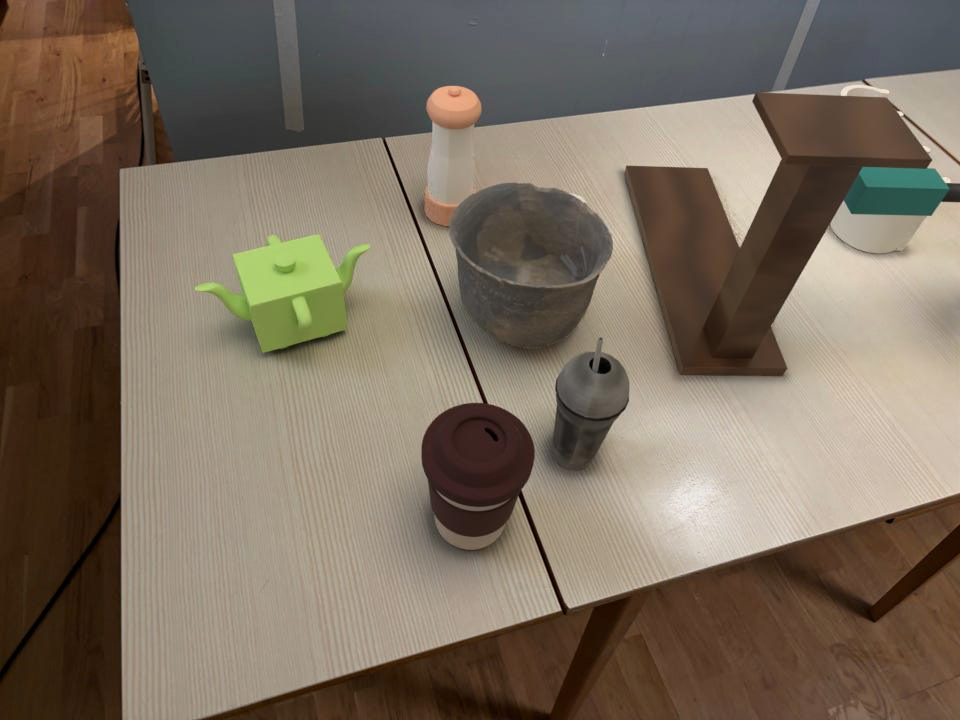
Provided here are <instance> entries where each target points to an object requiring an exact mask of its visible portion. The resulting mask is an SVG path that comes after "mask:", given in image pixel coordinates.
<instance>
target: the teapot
mask: <svg viewBox="0 0 960 720" xmlns="http://www.w3.org/2000/svg"><path fill="white" fill-rule="evenodd" d="M371 247H372V246H371V244H369V243H363V244H359V245H356V246H354V247H352V248H351V249H350V250H349V251H348V252H347V253H346V255H345V257H344V259H343V261H342V263H341V264H340V266H339V267H337V268H336V267H335V264H334V262H333V260H332V257H331V256H330V253H329V252H328V249H327V247H326V245H325V243H324V241H323V238H322V236H321V234H320V233H317V234H313V235H308V236H304V237H299V238H295V239H291V240H286V241H282V240H281V238H280V236H278V235H277V234H271V235H268V236H267V238H266V246H261V247H257V248H253V249H249V250H245V251H241V252H237V253H233V254H232V260H233V263H234V268H235V271H236V275H237V278H238V281H239V285H240V289H241V292H242V294H235V293H232V292H231V291H230V290H229V289H228V288H227V287H226V286H224V285H223V284H222V283H217V282H205V283H200V284H198V285H196V286H195V287H194V290H195V291H197V292H201V293H207V294H211V295H214V296H215V297H217V298H218V299H219V300H220V301H221V302H222V304H223V305H224V306H225V307H226V309H227V310H228V311H229V312H230V313H231V314H232V315H233V316H235V317H236V318H239V319H241V320H245V321H251V323H252V327H253V329H254V333H255V335H256V338H257V341H258V344H259V347H260V351H261V353H262V354H265V353H269V352H272V351H275V350H283V349H286V348H289V346H293V345H296V344H300V343H304V342H307V341H311V340H314V339H319V338H325V337H328V336H330V335H332V334H336V333H339V332H343V331H346V330H349V326H348V319H347V309H346V302H345V294H346V292H347V291H348V290H349V288H350V287H351V284H352V282H353V278H354V272H355V268H356V265H357V262H358V260H359V258H360V257H361V256H362V255H363V254H364V253H366V252H367V251H369V250H370V249H371Z"/></svg>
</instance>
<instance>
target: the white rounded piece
mask: <svg viewBox="0 0 960 720" xmlns="http://www.w3.org/2000/svg"><path fill="white" fill-rule="evenodd" d="M889 95H890V90H887V89H886V88H881V89H880V88H878V87H875V86H870V85H866V84H851V85H847V86H845V87H843V88H842V89H841V90H840V92H839V94H838V96H862V97H886V98H887V99H888V97H889ZM896 111H897V112H898V114H899V115H900V116H901V118H902V119H903V117H904V116H905V115H904V112H902V111H899V110H896ZM921 145H922V146H923V148H924V149H925V150H926V152H927V153H928V154H929V155H930V154H931V152H932V149H931V148H930V147H928V146H926V145H923V144H921ZM941 177H942V179H943V180H944V182H945V183H952V180H951V179H950V178H949V177H948V176H941ZM927 217H928V216H913V215H869V214H851V213H850V211H849V209H848V207H847V206H846V204H845V202H844V200H843V202H842V204H841V206H840V207H839V209H838V211H837V213H836V214H835V216H834V218H833V219H832V221H831V223H830V225H829V226H830V229H831V230H832V231H833V233H834V234H835V236H836V237H837V238H839V239H840V240H841V241H842V242H844V244H846V245H848V246H850V247H852V248H854V249H857V250H859V251H862V252H865V253H870V254H888V253H892V252H893V251H897V252H902V251H904V249H905V248H906V246H908V243H909V242H910V241H911V239H912V238H913V237H914V235H915V234H916V233H917V231H918V229H920V227H921V225H922V224H923V223H924V221H925V220H926V218H927Z"/></svg>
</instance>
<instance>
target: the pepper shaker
mask: <svg viewBox="0 0 960 720" xmlns="http://www.w3.org/2000/svg"><path fill="white" fill-rule="evenodd" d="M425 106H426V112H427V115H428V117H429V119H430V120H431V122H432V123H431V124H432V127H431V147H430V151H429V157H428V163H427V169H426V172H427V173H426V175H427V176H426V177H427V178H426V180H427V184H426V185H425V188H424V213H425V216H426V217H427V218H428V219H429V220H430V221H431V222H433V223H434V224H436V225H439V226H443V227H449V224H450V220H451V217H452V215H453V212H454V211H455V209H456V208H457V207H458V205H459V204H460V203H462V202H463V201H464V200H465V199H466V198H467V197H469V196H470V195H472V194H476V193H477V190H476V188H475V180H476V163H475V152H474V137H475V124H477V122H478V120H479V119H480V117H481V114H482V112H483V111H482V109H483V107H482V102H481V101H480V98H479V96H477V94H476V93H475V92H474V91H472V90H471V89H469V88H467V87H465V86H460V85H446V86H441V87H438V88H437V89H435V90H434V91H433V92H432V93H431V94H430V96H429V97H428V99H427V101H426V105H425Z"/></svg>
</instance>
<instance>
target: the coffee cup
mask: <svg viewBox="0 0 960 720" xmlns="http://www.w3.org/2000/svg"><path fill="white" fill-rule="evenodd" d="M420 450H421V453H420V454H421V455H420V456H421V466H422V469H423V472H424V475H425V478H426V479H427V483H428V492H429V493H428V494H429V501H430V505H431V506H430V507H431V509H432V513H433V517H434V523H435V526H436V530H437V531H438V533H439V534H440V536H441V537H442V538H443V539H444V540H445V541H446V542H447V543H448V544H450V545H451V546H454V547H456V548H458V549H462V550H468V551H476V550H480V549H483V548H486V547H489V546H490V545H492V544H493V543H495V541H497V540H498V539H499V538H500V536H501V535H502V534H503V532H504V529H505V528H506V524H507V522H508V521H509V519H510V518H511V516H512V514H513V511H514V509H515V506H516V504H517V501H518V499H519V495H520V493H521V491H522V489H523V488H524V487H525V486H526V485H527V483H528V481H529V479H530V477H531V475H532V471H533V467H534V464H535V457H536V456H535V455H536V454H535V453H536V450H535V443H534V440H533V438H532V434H531V433H530V431H529V429H528V428H527V427H526V425H525V424H524V423H523V421H521V419H520V418H518V417H517V416H516V415H514V414H513V413H512V412H510V411H508V410H507V409H505V408H503V407H500V406H497V405H494V404H490V403H486V402H485V403H484V402H467V403H462V404H458V405H454V406H452V407H450V408H448V409H446V410H444V411H443V412H441V413H440V414H438V415H437V416H436V417H435V418H434V419H433V420H432V421H431V422H430V424H429V425H428V427H427V428H426V430H425V432H424V435H423V437H422V441H421V449H420Z"/></svg>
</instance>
